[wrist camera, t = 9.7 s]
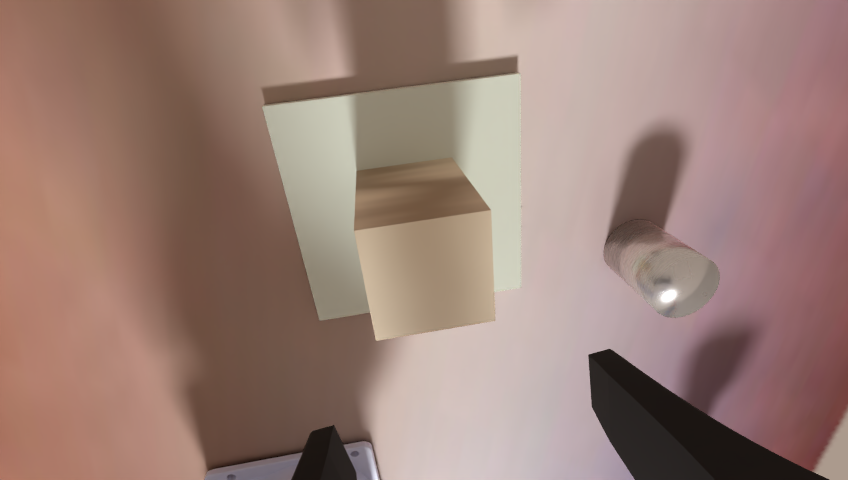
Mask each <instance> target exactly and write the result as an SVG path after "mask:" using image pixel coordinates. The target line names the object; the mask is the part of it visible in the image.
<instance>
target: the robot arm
mask: <svg viewBox="0 0 848 480" xmlns="http://www.w3.org/2000/svg"><path fill="white" fill-rule="evenodd" d="M589 370H590V385H591V400H592V408H593V410H594V412H595V414H596V416H597V417H598V419H599V421H600V423H601V425H602V427H603V429H604V431H605V433H606V435H607V437H608V438H609V440H610V442H611V444H612V445H613V447H614V448H615V450H616V452H617V453H618V455H619V456H620V458H621V459H622V461H623V462H624V464H625V465H626V467H627V468H628V470H629V471H630V473H631V474H632V476H633V477H634V479H635V480H829V479H826V478H825V477H822V476H820V475H818V474H816V473H814V472H811V471H809V470H807V469H805V468H803V467H801V466H799V465H797V464H795V463H793V462H791V461H789V460H787V459H785V458H783V457H781V456H779V455H777V454H775V453H773V452H771V451H770V450H768V449H766V448H764V447H762V446H760V445H758V444H756V443H755V442H753V441H751V440H749V439H747V438H746V437H744V436H742V435H740V434H739V433H737V432H735V431H733V430H732V429H730V428H728V427H726V426H725V425H723V424H721V423H720V422H718V421H716V420H715V419H713V418H711V417H710V416H708V415H707V414H705V413H703V412H702V411H700V410H699V409H697V408H695V407H694V406H692V405H691V404H689V403H688V402H686V401H685V400H683V399H682V398H680V397H679V396H677V395H675V394H674V393H672V392H671V391H669V390H668V389H666V388H665V387H663V386H662V385H661V384H659V383H658V382H656V381H655V380H653V379H652V378H650V377H649V376H648V375H646V374H645V373H643V372H642V371H641V370H639V369H638V368H636V367H635V366H634V365H632V364H631V363H629V362H628V361H627V360H625V359H624V358H623V357H621V356H620V355H618V354H617V353H616V352H614V351H613V350H611V349H607V350H604V351H600V352H597V353H593V354H589ZM204 480H380V478H379V474H378V470H377V466H376V461H375V457H374V453H373V449H372V445H371V444H370V443H369V442H366V441H361V442H356V443H350V444H345V445H343V443H342V441H341V439H340V437H339V435H338V433H337V431H336V428H335V426H334V425H333V426H329V427H326V428H322V429H318V430H315V431H312V432H311V434H310V436H309V438H308V440H307V443H306V445H305V448H304V450H303V452H302V453H297V454H291V455H286V456H281V457H275V458H270V459H265V460H259V461H254V462H249V463H243V464H238V465H233V466H227V467H222V468H217V469H212V470H209V471H208V472H207V473H206V476H205V479H204Z"/></svg>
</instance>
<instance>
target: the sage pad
mask: <svg viewBox="0 0 848 480" xmlns="http://www.w3.org/2000/svg"><path fill="white" fill-rule="evenodd" d="M262 108H263V112H264V115H265V119H266V123H267V127H268V130H269V134H270V138H271V142H272V145H273V149H274V153H275V157H276V160H277V164H278V168H279V172H280V175H281V179H282V183H283V186H284V190H285V194H286V198H287V201H288V205H289V209H290V213H291V216H292V220H293V224H294V228H295V231H296V235H297V239H298V243H299V246H300V250H301V254H302V257H303V261H304V265H305V269H306V272H307V276H308V280H309V284H310V287H311V291H312V295H313V299H314V302H315V306H316V310H317V314H318V317H319V321H323V320H329V319H335V318H341V317H347V316H353V315H359V314H365V313H370V309H369V304H368V299H367V294H366V289H365V284H364V279H363V274H362V269H361V264H360V259H359V254H358V249H357V244H356V239H355V234H354V217H355V193H356V171H359V170H366V169H373V168H380V167H387V166H394V165H401V164H408V163H415V162H423V161H430V160H437V159H444V158H451V157H452V158H453V160H454V161H455V162H456V164H457V165H458V166H459V168H460V169H461V170H462V172H463V173H464V174H465V176H466V177H467V178H468V180H469V181H470V182H471V184H472V185H473V186H474V188H475V189H476V190H477V192H478V193H479V194H480V196H481V197H482V198H483V200H484V201H485V202H486V204H487V205H488V206H489V208H490V209H491V220H492V246H493V273H494V292H498V291H504V290H510V289H516V288H521V74H520V73H510V74H502V75H494V76H486V77H478V78H470V79H462V80H455V81H447V82H439V83H431V84H423V85H415V86H408V87H400V88H392V89H384V90H376V91H368V92H360V93H353V94H345V95H337V96H329V97H321V98H313V99H306V100H298V101H290V102H282V103H274V104H266V105H264V106H262Z"/></svg>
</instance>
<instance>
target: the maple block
mask: <svg viewBox="0 0 848 480" xmlns="http://www.w3.org/2000/svg"><path fill="white" fill-rule="evenodd" d="M354 234H355V239H356V244H357V249H358V254H359V259H360V264H361V269H362V274H363V279H364V284H365V289H366V294H367V299H368V304H369V309H370V314H371V319H372V324H373V329H374V334H375V339H376V341H379V340H385V339H391V338H397V337H403V336H409V335H414V334H420V333H426V332H432V331H438V330H444V329H450V328H455V327H461V326H467V325H473V324H479V323H485V322H491V321H495V299H494V273H493V246H492V220H491V209H490V208H489V206H488V205H487V204H486V202H485V201H484V200H483V198H482V197H481V196H480V194H479V193H478V192H477V190H476V189H475V188H474V186H473V185H472V184H471V182H470V181H469V180H468V178H467V177H466V176H465V174H464V173H463V172H462V170H461V169H460V168H459V166H458V165H457V164H456V162H455V161H454V160H453V158H452V157H451V158H444V159H437V160H430V161H423V162H415V163H408V164H401V165H394V166H387V167H380V168H373V169H366V170H359V171H356V193H355V217H354Z"/></svg>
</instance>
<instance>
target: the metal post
mask: <svg viewBox="0 0 848 480" xmlns="http://www.w3.org/2000/svg"><path fill="white" fill-rule="evenodd" d="M604 259H605V262H606V264H607V265H608V266H609V267H610V268H611V269H612V270H613V271H614V272H615V273H616V274H617V275H618V276H619V277H620V278H622V279H623V280H624V281H625V282H626V283H627V284H628V285H629V286H630V287H631V288H632V289H633V290H634V291H635V292H637V293H638V294H639V295H640V296H641V297H642V298H643V299H644V300H645V301H646V302H647V303H648V304H649V305H650V306H652V307H653V308H654V309H655V310H656V311H657V312H658V313H659V314H661V315H663V316H665V317H670V318H677V317H683V316H686V315H689V314H691V313H694V312H695V311H697V310H699V309H700V308H701V307H703V306H704V305H705V304H706V303H707V302H708V301H709V300H710V299H711V298H712V296H713V295H714V293H715V292H716V290H717V287H718V284H719V280H720V274H719V270H718V267H717V266H716V265H715V263H714V262H712V261H711V260H709V259H708V258H706V257H705V256H703V255H702V254H700V253H698V252H697V251H695V250H694V249H692V248H691V247H689V246H688V245H686V244H684V243H683V242H681V241H680V240H678V239H677V238H675V237H674V236H672V235H670V234H669V233H667V232H666V231H664V230H663V229H661V228H660V227H658V226H656V225H655V224H653V223H652V222H650V221H647V220H642V219H638V220H632V221H629V222H626V223H624V224H623V225H621V226H619V227H618V228H617V229H616V230H615V231H614V232H613V233H612V234H611V235H610V236H609V238H608V240H607V242H606V244H605V247H604Z"/></svg>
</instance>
